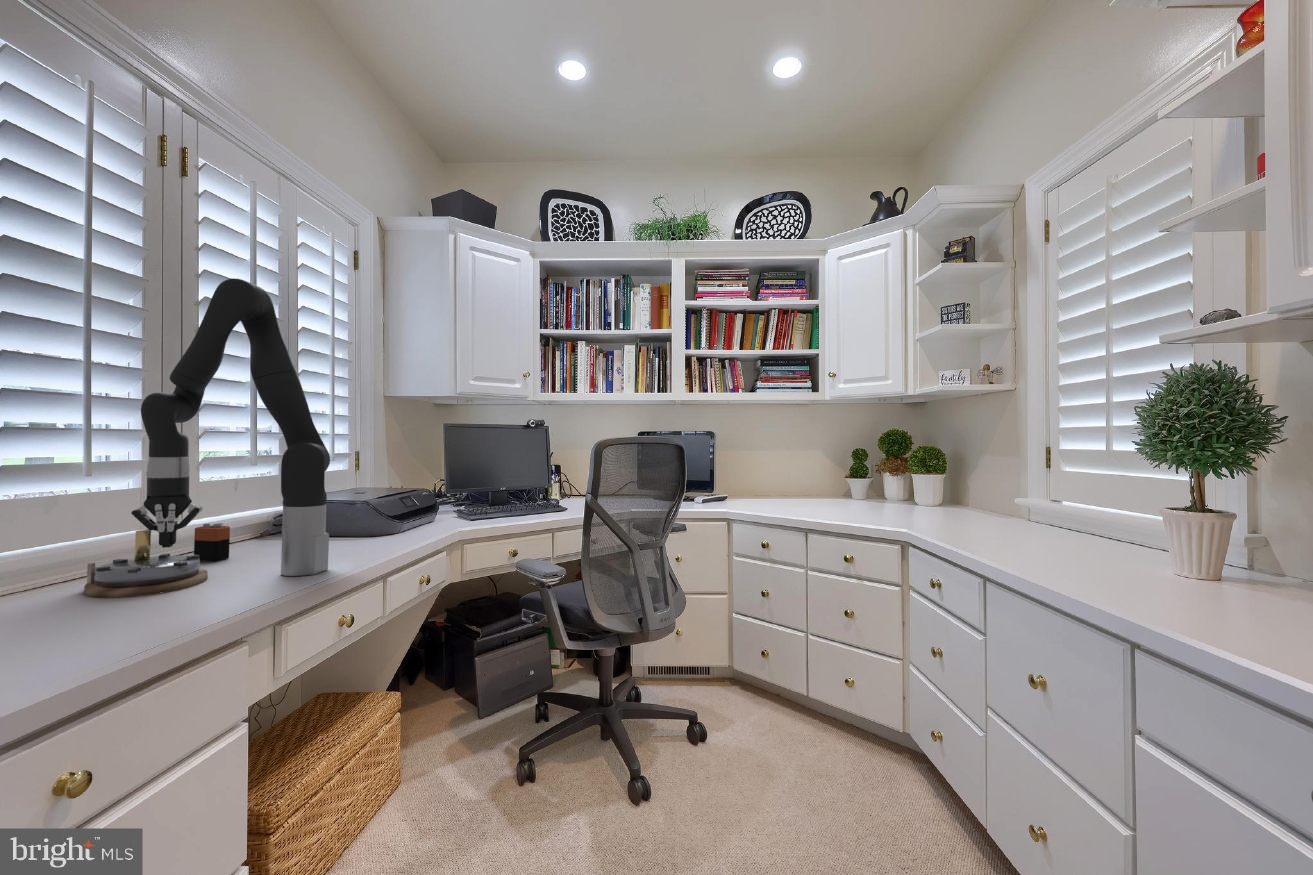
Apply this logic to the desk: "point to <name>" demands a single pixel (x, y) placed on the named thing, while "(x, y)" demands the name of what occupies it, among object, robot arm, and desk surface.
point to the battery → (212, 542)
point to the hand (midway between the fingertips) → (167, 546)
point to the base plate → (115, 592)
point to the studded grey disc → (146, 567)
